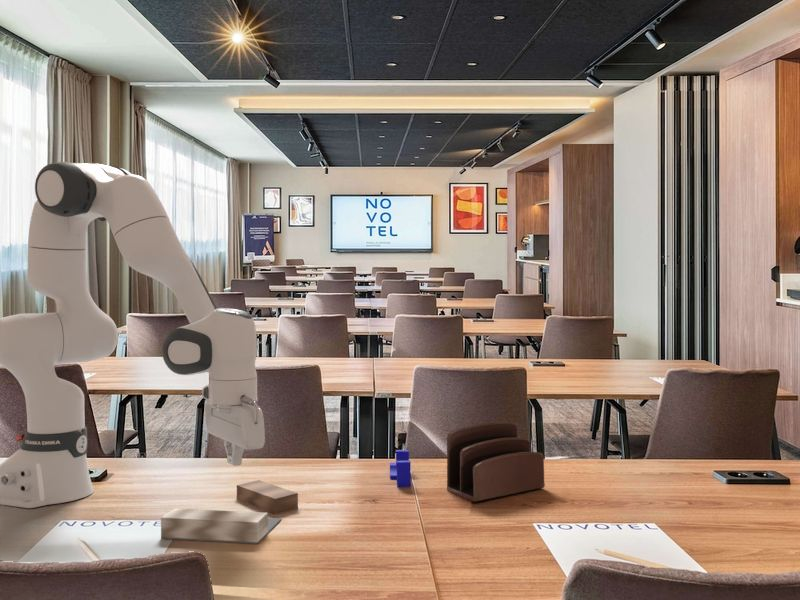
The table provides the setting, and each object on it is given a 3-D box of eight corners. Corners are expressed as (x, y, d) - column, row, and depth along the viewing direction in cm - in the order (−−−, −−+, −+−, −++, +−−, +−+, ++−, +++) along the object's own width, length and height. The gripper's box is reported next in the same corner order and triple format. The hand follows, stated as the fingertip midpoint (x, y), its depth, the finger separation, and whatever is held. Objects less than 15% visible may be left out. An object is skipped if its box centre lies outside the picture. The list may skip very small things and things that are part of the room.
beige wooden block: (161, 537, 130) (160, 517, 130) (175, 527, 135) (175, 508, 135) (257, 542, 127) (257, 522, 127) (267, 531, 133) (267, 512, 132)
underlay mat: (161, 538, 130) (161, 537, 130) (193, 515, 143) (193, 514, 143) (257, 543, 127) (257, 542, 127) (281, 520, 140) (281, 518, 140)
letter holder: (446, 491, 159) (445, 427, 159) (515, 478, 170) (515, 418, 170) (474, 503, 151) (474, 435, 151) (545, 488, 161) (545, 424, 161)
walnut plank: (236, 501, 153) (236, 485, 153) (259, 496, 157) (258, 480, 157) (275, 516, 144) (275, 498, 143) (298, 510, 147) (297, 493, 147)
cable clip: (389, 475, 173) (389, 450, 173) (408, 475, 173) (408, 449, 173) (390, 489, 161) (390, 462, 161) (410, 489, 161) (410, 462, 161)
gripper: (273, 398, 134) (273, 473, 134) (228, 385, 150) (228, 451, 151) (241, 401, 130) (241, 478, 130) (198, 387, 146) (199, 456, 147)
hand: (234, 464), depth 141 cm, fingers closed
